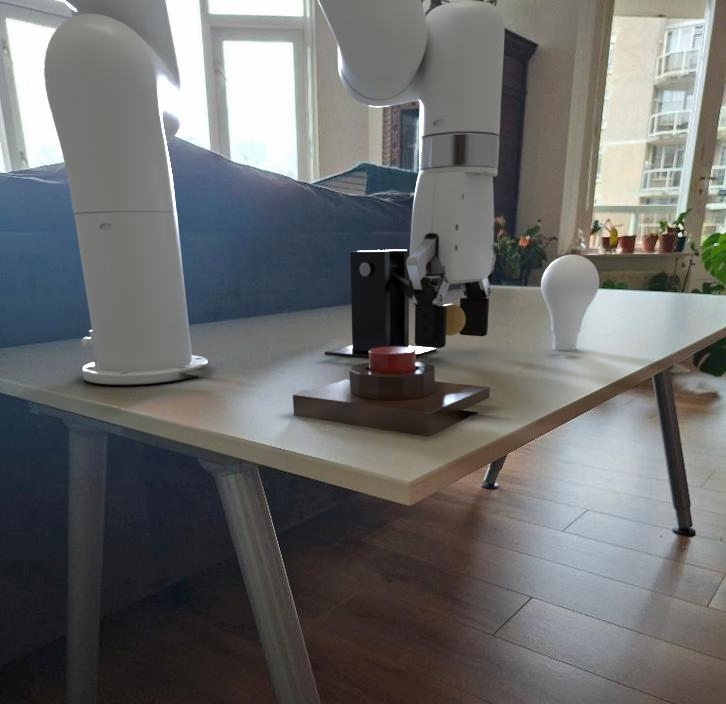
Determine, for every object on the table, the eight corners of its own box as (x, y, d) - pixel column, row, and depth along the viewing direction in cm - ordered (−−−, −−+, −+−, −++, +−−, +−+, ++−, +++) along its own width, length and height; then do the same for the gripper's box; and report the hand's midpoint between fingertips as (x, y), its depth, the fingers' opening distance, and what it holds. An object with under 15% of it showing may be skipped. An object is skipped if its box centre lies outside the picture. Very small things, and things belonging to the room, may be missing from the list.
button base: (293, 416, 52) (291, 371, 51) (365, 392, 60) (364, 353, 59) (428, 437, 46) (429, 387, 44) (489, 408, 53) (491, 364, 52)
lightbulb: (549, 350, 80) (557, 254, 76) (600, 355, 76) (610, 253, 72) (526, 357, 75) (533, 255, 72) (578, 363, 72) (588, 255, 68)
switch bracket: (436, 358, 76) (438, 249, 72) (400, 370, 70) (400, 251, 66) (364, 352, 81) (362, 250, 77) (324, 362, 75) (320, 251, 71)
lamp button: (360, 374, 51) (359, 351, 51) (385, 367, 54) (385, 345, 53) (400, 378, 49) (400, 355, 49) (424, 371, 52) (424, 348, 51)
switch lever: (461, 339, 71) (476, 313, 69) (447, 343, 69) (462, 316, 67) (372, 273, 75) (384, 247, 73) (356, 275, 72) (368, 248, 70)
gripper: (463, 169, 73) (457, 329, 78) (376, 155, 59) (377, 349, 65) (529, 164, 69) (518, 333, 74) (452, 147, 55) (446, 355, 61)
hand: (452, 340), depth 70 cm, fingers open, 9 cm apart
